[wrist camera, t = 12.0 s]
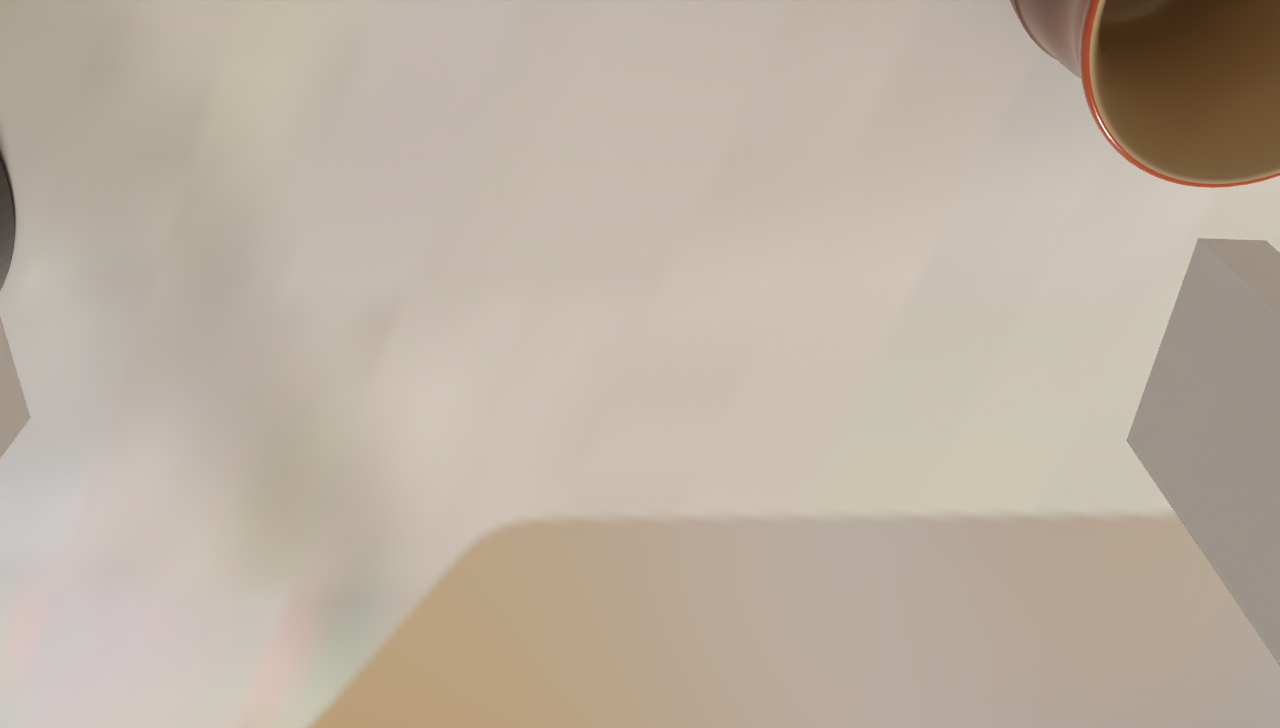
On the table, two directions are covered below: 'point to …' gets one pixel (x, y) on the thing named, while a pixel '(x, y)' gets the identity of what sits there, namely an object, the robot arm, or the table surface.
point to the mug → (1174, 81)
